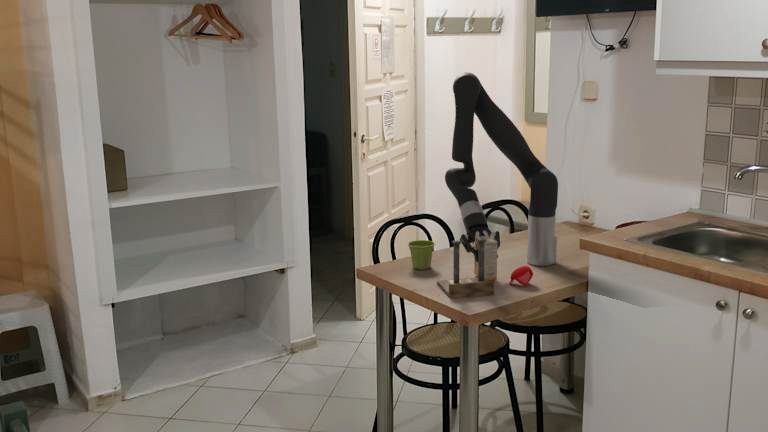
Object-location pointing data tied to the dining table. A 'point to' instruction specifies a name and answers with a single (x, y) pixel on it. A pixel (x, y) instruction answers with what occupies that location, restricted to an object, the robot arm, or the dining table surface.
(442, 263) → the dining table surface
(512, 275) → the cap
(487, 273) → the supplement box
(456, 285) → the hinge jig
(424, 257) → the plant pot
